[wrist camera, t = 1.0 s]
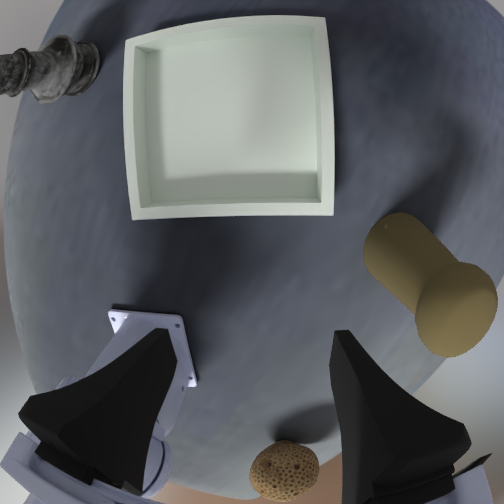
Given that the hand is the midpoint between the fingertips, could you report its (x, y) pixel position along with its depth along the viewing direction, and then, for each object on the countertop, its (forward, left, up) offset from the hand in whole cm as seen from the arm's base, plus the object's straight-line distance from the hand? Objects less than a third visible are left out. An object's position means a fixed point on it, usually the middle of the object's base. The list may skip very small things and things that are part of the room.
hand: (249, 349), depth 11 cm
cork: (+1, -11, -11) cm, 15 cm away
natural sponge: (-27, -3, -11) cm, 30 cm away
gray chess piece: (+18, +15, -10) cm, 25 cm away
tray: (+11, +2, -10) cm, 15 cm away
